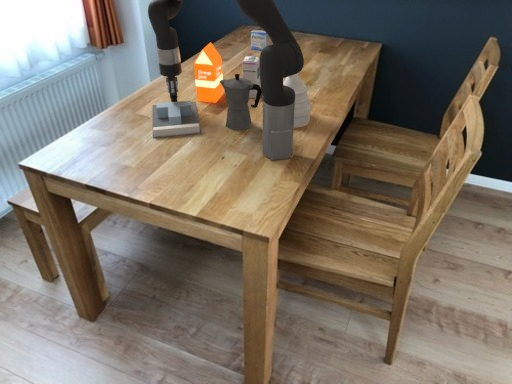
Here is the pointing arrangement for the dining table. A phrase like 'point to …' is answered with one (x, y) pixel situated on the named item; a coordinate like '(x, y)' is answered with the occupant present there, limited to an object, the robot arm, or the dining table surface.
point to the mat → (184, 120)
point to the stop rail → (176, 130)
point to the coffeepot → (239, 101)
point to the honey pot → (299, 100)
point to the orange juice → (208, 75)
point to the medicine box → (259, 39)
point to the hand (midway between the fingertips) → (175, 106)
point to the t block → (174, 111)
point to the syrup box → (251, 72)
